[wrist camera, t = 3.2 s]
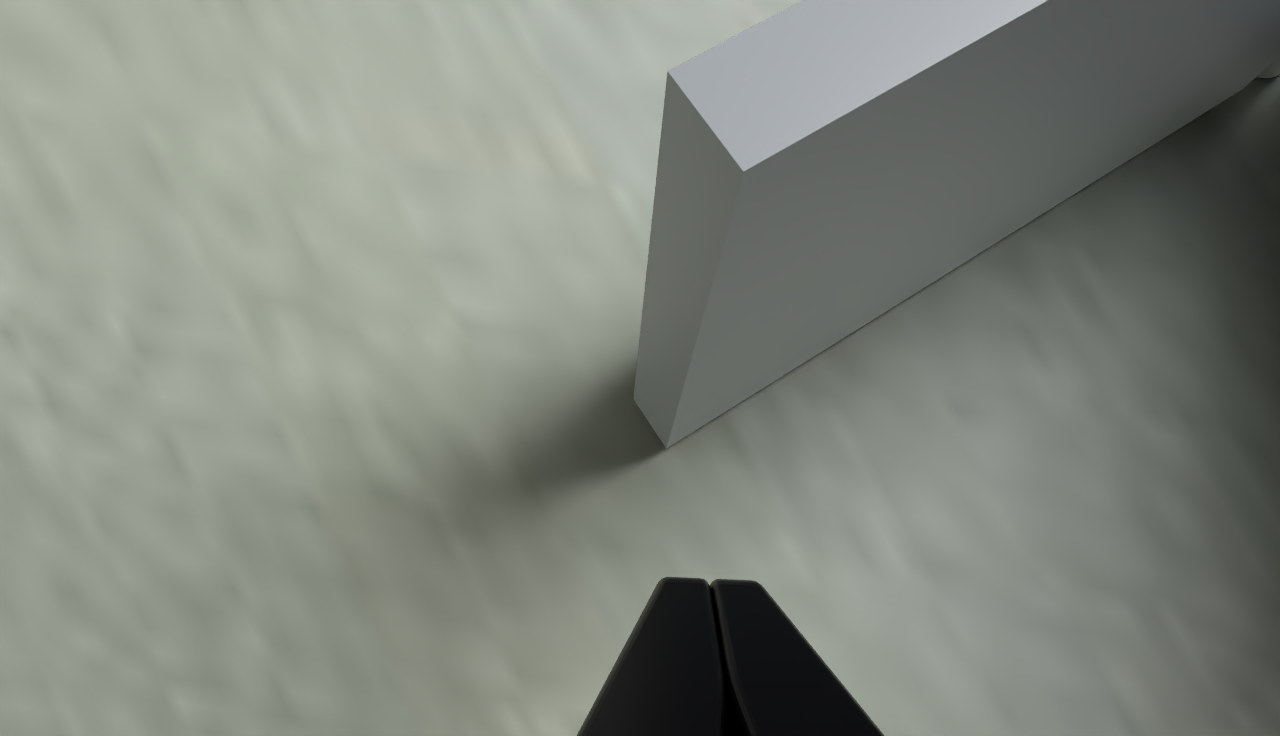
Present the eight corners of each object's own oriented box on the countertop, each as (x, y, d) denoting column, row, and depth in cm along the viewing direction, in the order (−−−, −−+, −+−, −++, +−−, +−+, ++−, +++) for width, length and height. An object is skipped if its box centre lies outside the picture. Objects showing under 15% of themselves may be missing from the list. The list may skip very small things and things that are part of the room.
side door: (1179, 21, 18) (1671, -533, 10) (1243, 88, 17) (1816, -432, 9) (607, 360, 15) (611, -3, 7) (666, 448, 15) (743, 172, 7)
